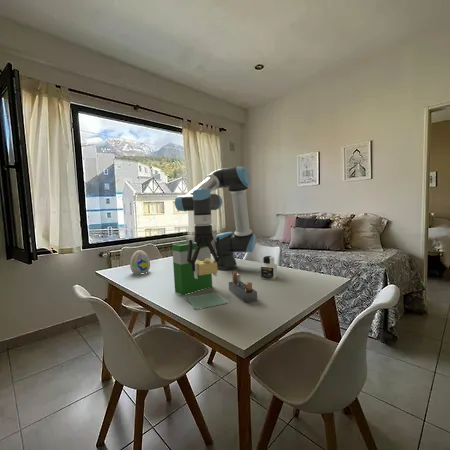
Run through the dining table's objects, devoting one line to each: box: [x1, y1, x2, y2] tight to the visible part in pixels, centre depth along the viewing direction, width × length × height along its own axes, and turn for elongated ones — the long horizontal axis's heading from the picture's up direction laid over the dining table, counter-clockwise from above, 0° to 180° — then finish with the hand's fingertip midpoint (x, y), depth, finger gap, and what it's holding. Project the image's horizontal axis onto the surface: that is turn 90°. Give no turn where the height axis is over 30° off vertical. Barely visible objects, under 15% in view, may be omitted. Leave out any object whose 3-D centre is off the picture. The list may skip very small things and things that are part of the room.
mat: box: [187, 292, 228, 310], centre depth 113 cm, size 14×14×1 cm
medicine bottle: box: [260, 255, 278, 281], centre depth 142 cm, size 7×7×12 cm
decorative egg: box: [129, 249, 151, 275], centre depth 163 cm, size 12×12×15 cm
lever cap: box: [195, 257, 219, 275], centre depth 111 cm, size 10×8×5 cm
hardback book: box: [171, 241, 213, 296], centre depth 128 cm, size 18×7×24 cm, turn 130°
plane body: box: [228, 271, 258, 304], centre depth 117 cm, size 18×6×9 cm, turn 22°
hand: (205, 276), depth 111 cm, fingers closed on lever cap, 8 cm apart
